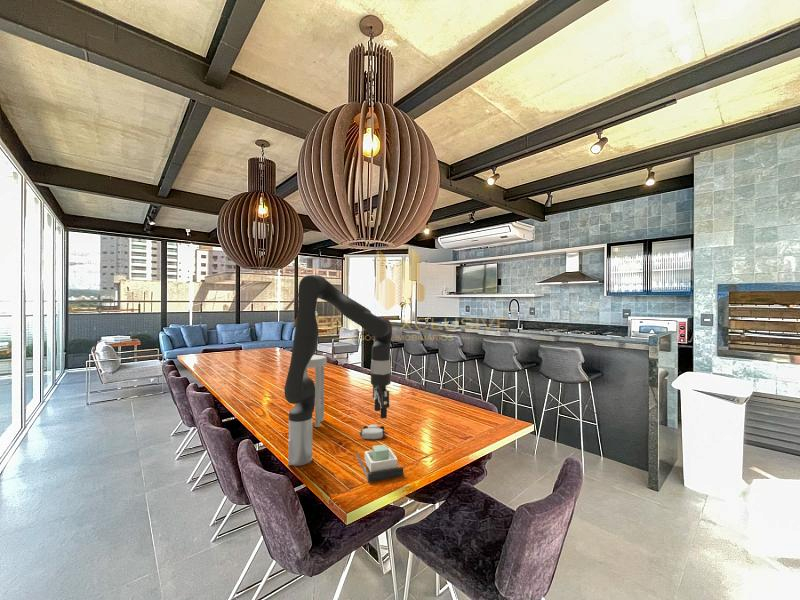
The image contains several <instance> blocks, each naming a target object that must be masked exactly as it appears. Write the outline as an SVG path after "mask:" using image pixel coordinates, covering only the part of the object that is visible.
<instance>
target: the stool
mask: <svg viewBox="0 0 800 600" xmlns="http://www.w3.org/2000/svg"><path fill="white" fill-rule="evenodd" d="M327 359H328V358H327V356H326V355H319V354H318V355H317V354H313V356H312V358H311V360H310V361H309V363H308V365H307V366H306V369H305V372H304V376H303V377H308V368H310V369H311V368H313V369H315V370H314V374H315V375H314V376H315V378H314V385H315V407H314V428H315V427H320V428H321V422H324V421H325V414H324V413H325V366H326V365H327V363H328V362H327V361H328V360H327Z"/></svg>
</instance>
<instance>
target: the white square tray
mask: <svg viewBox="0 0 800 600" xmlns="http://www.w3.org/2000/svg"><path fill="white" fill-rule="evenodd" d="M387 448H388V450H389V459H388V460H382V461H375V462H374V461H373V459H372V450H373V449H372V450H366V451H364V462H365V468H366V469H368V470H369V472H375V471H381V470H387V469H392V468H398V465H399V463H398V460H399V459H398V458H397V456H396V455H395V453H394V452H393V451H392V449H391V448H390V447H387Z"/></svg>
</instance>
